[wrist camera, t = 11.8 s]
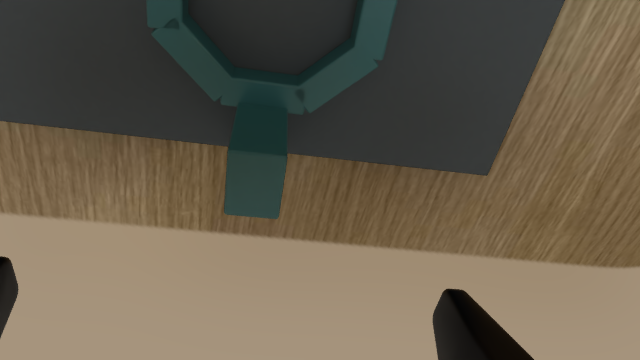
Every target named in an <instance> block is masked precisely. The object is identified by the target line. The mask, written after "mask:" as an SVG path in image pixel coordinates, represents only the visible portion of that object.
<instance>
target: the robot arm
mask: <svg viewBox="0 0 640 360" xmlns="http://www.w3.org/2000/svg"><path fill="white" fill-rule="evenodd" d="M17 294H18V284H17V280H16V276H15V273H14V270H13V266H12V263H11V261H10V260H9V258H6V257H0V338H1V335H2V333H3V330H4V327H5V325H6V323H7V320H8V318H9V315H10V313H11V310H12V308H13V306H14V303H15V301H16V298H17ZM433 327H434V334H435V341H436V347H437V354H438V360H534V359H533V358H532V357H531V356H530V355H529V354H528V353H527V352H526V351H525V350H524V349H523V348H522V347H521V346H520V345H519V344H518V343H517V342H516V341H515V340H514V339H513V338H512V337H511V336H510V335H509V334H508V333H507V332H506V331H505V330H504V329H503V328H502V327H501V326H500V325H499V324H498V323H497V322H496V321H495V320H494V319H493V318H492V317H491V316H490V315H489V314H488V313H487V312H486V311H484V309H483V308H482V307H481V306H479V305H478V304H477V303H476V302H475V301H474V300H473V299H472V298H471V297H470V296H469V295H468V294H467V293H466V292H465V291H463V290H459V289H446V290H445V291H444V292H443V293H442V295H441V297H440V300H439V302H438V304H437V306H436V309H435V311H434V314H433Z"/></svg>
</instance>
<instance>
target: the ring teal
mask: <svg viewBox="0 0 640 360" xmlns="http://www.w3.org/2000/svg"><path fill="white" fill-rule="evenodd" d="M397 1H398V0H358V2H357V7H356V12H355V17H354V22H353V27H352V32H351V37H350V38H349V39H348V40H346V41H345V42H344V43H342V44H341V45H339V46H338V47H337V48H335V49H334V50H332V51H331V52H330V53H328V54H327V55H326V56H324V57H323V58H321V59H320V60H319V61H317V62H316V63H314V64H313V65H312V66H310V67H309V68H308V69H306V70H305V71H303V72H302V73H301V74H299V75H290V74H283V73H275V72H268V71H261V70H253V69H246V68H238V67H234V66H233V64H232V63H231V62H230V61H229V60H228V59H227V58H226V56H225V55H224V54H223V53H222V52H221V51H220V49H219V48H218V47H217V46H216V45H215V44H214V43H213V41H212V40H211V39H210V38H209V37H208V36H207V35H206V33H205V32H204V31H203V30H202V29H201V28H200V26H199V25H198V24H197V23H196V22H195V21H194V20H193V18H192V17H191V16H190V15H189V14H188V0H146V9H147V25H148V27H150V28H155V29H154V30H153V31H152V33H151V35H152V36H153V37H154V38H155V39H156V40H157V41H158V43H159V44H160V45H161V46H162V47H163V48H164V49H165V50H166V51H167V52H168V53H169V54H170V55H171V56H172V57H173V58H174V59H175V61H176V62H177V63H178V64H179V65H180V66H181V67H182V68H183V69H184V70H185V71H186V72H187V73H188V74H189V75H190V76H191V77H192V79H193V80H194V81H195V82H196V83H197V84H198V85H199V86H200V87H201V88H202V89H203V90H204V91H205V92H206V93H207V94H208V95H209V97H210V98H211V99H212V100H213V101H217V100H218V99H220V98H221V99H220V102H221V105H226V106H234V107H237V110H236V115H235V119H234V124H233V128H232V133H231V138H230V142H229V147H228V152H227V168H226V185H225V202H224V213H225V214H226V215H237V216H248V217H259V218H270V219H278V217H279V213H280V206H281V199H282V192H283V185H284V178H285V172H286V165H287V141H288V113H290V114H299V115H303V114H304V111H305V109H306V111H307V112H308V113H311V112H313V111H314V110H316V109H317V108H319V107H320V106H322V105H323V104H325V103H326V102H328V101H329V100H331V99H332V98H333V97H335V96H336V95H338V94H339V93H341V92H342V91H344V90H345V89H347V88H348V87H350V86H351V85H352V84H354V83H355V82H357V81H358V80H360V79H361V78H363V77H364V76H366V75H367V74H369V73H370V72H371V71H373V70H374V69H376V68H377V67H378V63H377V61H376V60H383V58H384V54H385V50H386V46H387V42H388V38H389V34H390V30H391V26H392V22H393V17H394V13H395V9H396V5H397Z"/></svg>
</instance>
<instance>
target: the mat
mask: <svg viewBox="0 0 640 360" xmlns="http://www.w3.org/2000/svg"><path fill="white" fill-rule="evenodd" d="M564 1H565V0H398V1H397V5H396V9H395V13H394V17H393V22H392V26H391V30H390V34H389V38H388V42H387V46H386V50H385V54H384V58H383V60H376V61H377V63H378V67H377V68H376V69H374V70H373V71H371V72H370V73H369V74H367V75H366V76H364V77H363V78H361V79H360V80H358V81H357V82H355V83H354V84H352V85H351V86H350V87H348V88H347V89H345V90H344V91H342V92H341V93H339V94H338V95H336V96H335V97H333V98H332V99H331V100H329V101H328V102H326V103H325V104H323V105H322V106H320V107H319V108H317V109H316V110H314V111H313V112H311V113H308V112H307V111H306V109H305V111H304V114H303V115H299V114H290V113H288V141H287V153H290V154H299V155H308V156H317V157H326V158H335V159H344V160H352V161H361V162H370V163H379V164H388V165H397V166H406V167H415V168H423V169H432V170H441V171H450V172H459V173H468V174H477V175H486V176H487V175H488V173H489V171H490V168H491V166H492V164H493V162H494V159H495V157H496V155H497V153H498V150H499V148H500V146H501V144H502V141H503V139H504V137H505V135H506V132H507V130H508V128H509V126H510V123H511V121H512V119H513V116H514V114H515V112H516V110H517V107H518V105H519V103H520V101H521V98H522V96H523V94H524V92H525V89H526V87H527V85H528V83H529V80H530V78H531V76H532V73H533V71H534V69H535V67H536V64H537V62H538V60H539V58H540V55H541V53H542V51H543V49H544V46H545V44H546V42H547V40H548V37H549V35H550V33H551V30H552V28H553V26H554V24H555V21H556V19H557V17H558V15H559V12H560V10H561V8H562V6H563V3H564ZM357 2H358V0H188V14H189V15H190V16H191V17H192V18H193V20H194V21H195V22H196V23H197V24H198V25H199V26H200V28H201V29H202V30H203V31H204V32H205V33H206V35H207V36H208V37H209V38H210V39H211V40H212V41H213V43H214V44H215V45H216V46H217V47H218V48H219V49H220V51H221V52H222V53H223V54H224V55H225V56H226V58H227V59H228V60H229V61H230V62H231V63H232V64H233V66H234V67H238V68H246V69H253V70H261V71H268V72H275V73H283V74H290V75H299V74H301V73H302V72H303V71H305V70H306V69H308V68H309V67H310V66H312V65H313V64H314V63H316V62H317V61H319V60H320V59H321V58H323V57H324V56H326V55H327V54H328V53H330V52H331V51H332V50H334V49H335V48H337V47H338V46H339V45H341V44H342V43H344V42H345V41H346V40H348V39H349V38H350V37H351V32H352V27H353V22H354V17H355V12H356V7H357ZM154 29H155V28H150V27H148V25H147V9H146V0H0V121H6V122H15V123H24V124H33V125H41V126H50V127H59V128H68V129H77V130H86V131H95V132H104V133H113V134H121V135H130V136H139V137H148V138H157V139H166V140H175V141H184V142H193V143H201V144H210V145H219V146H228V147H229V142H230V138H231V133H232V128H233V124H234V119H235V115H236V110H237V107H234V106H226V105H221V102H220V99H221V98H220V99H218V100H217V101H213V100H212V99H211V98H210V97H209V95H208V94H207V93H206V92H205V91H204V90H203V89H202V88H201V87H200V86H199V85H198V84H197V83H196V82H195V81H194V80H193V79H192V77H191V76H190V75H189V74H188V73H187V72H186V71H185V70H184V69H183V68H182V67H181V66H180V65H179V64H178V63H177V62H176V61H175V59H174V58H173V57H172V56H171V55H170V54H169V53H168V52H167V51H166V50H165V49H164V48H163V47H162V46H161V45H160V44H159V43H158V41H157V40H156V39H155V38H154V37H153V36H152V35H151V33H152V31H153V30H154Z"/></svg>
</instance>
